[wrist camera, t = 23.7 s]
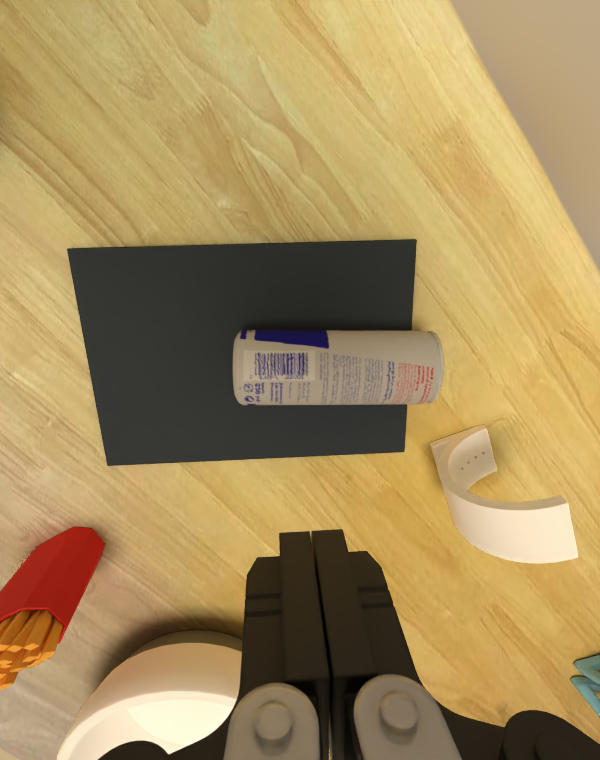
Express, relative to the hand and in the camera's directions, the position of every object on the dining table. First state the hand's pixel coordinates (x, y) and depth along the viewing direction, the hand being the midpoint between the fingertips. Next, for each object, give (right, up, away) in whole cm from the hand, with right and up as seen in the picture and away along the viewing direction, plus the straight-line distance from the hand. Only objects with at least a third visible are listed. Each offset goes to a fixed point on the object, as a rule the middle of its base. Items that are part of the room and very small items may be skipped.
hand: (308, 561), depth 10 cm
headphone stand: (+14, -3, +29) cm, 33 cm away
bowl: (-11, -29, +37) cm, 48 cm away
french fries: (-22, -12, +31) cm, 39 cm away
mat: (-4, +6, +25) cm, 27 cm away
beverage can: (-5, +5, +22) cm, 23 cm away
